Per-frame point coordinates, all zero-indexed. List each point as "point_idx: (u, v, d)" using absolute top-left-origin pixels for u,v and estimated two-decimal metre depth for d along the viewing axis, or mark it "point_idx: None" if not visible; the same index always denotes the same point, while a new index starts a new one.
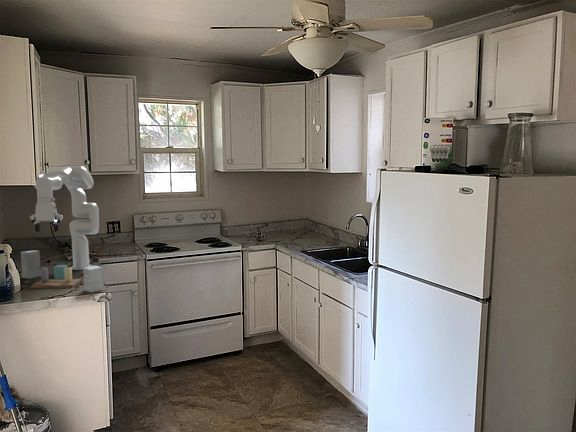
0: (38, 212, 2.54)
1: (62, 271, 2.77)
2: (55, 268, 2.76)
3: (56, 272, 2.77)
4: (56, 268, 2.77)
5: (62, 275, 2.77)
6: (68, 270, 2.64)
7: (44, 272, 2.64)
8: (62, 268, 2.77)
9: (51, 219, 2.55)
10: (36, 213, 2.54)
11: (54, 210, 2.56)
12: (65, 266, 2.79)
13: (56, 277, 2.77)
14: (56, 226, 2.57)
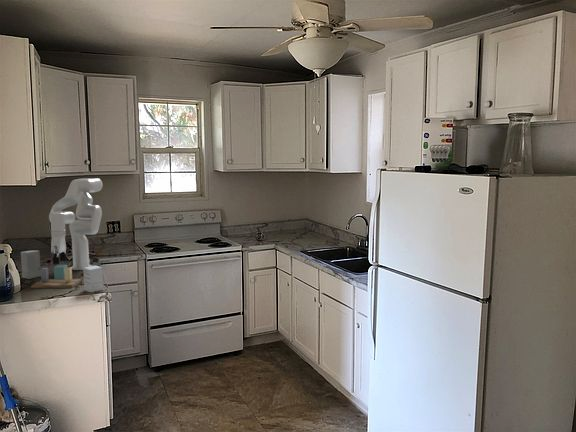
0: (60, 245, 2.74)
1: (62, 271, 2.77)
2: (55, 268, 2.76)
3: (56, 272, 2.77)
4: (56, 268, 2.77)
5: (62, 275, 2.77)
6: (68, 270, 2.64)
7: (44, 272, 2.64)
8: (62, 268, 2.77)
9: (65, 249, 2.81)
10: (59, 246, 2.73)
11: None
12: (65, 266, 2.79)
13: (56, 277, 2.77)
14: None
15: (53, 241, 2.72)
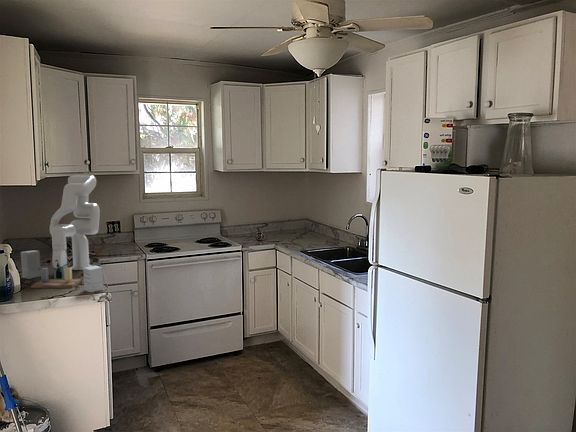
0: (62, 258, 2.76)
1: (62, 271, 2.77)
2: None
3: None
4: None
5: (62, 275, 2.77)
6: (68, 270, 2.64)
7: (44, 272, 2.64)
8: (62, 268, 2.77)
9: (66, 262, 2.83)
10: (60, 260, 2.75)
11: None
12: (65, 266, 2.79)
13: None
14: None
15: (54, 255, 2.73)
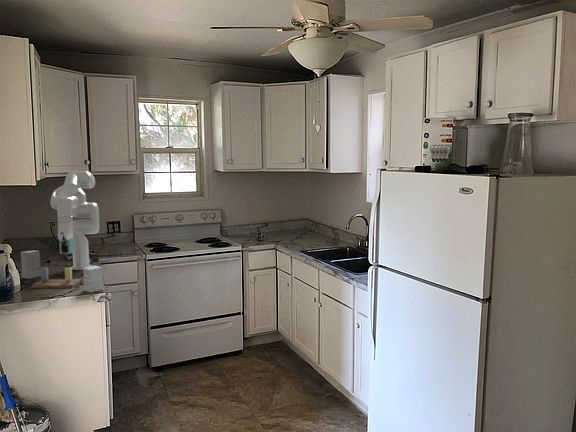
0: (68, 231, 2.60)
1: (68, 244, 2.61)
2: None
3: None
4: None
5: (68, 249, 2.61)
6: (68, 270, 2.64)
7: (44, 272, 2.64)
8: (68, 241, 2.61)
9: (72, 236, 2.67)
10: (66, 232, 2.59)
11: None
12: (71, 239, 2.64)
13: (61, 251, 2.61)
14: None
15: (60, 227, 2.58)
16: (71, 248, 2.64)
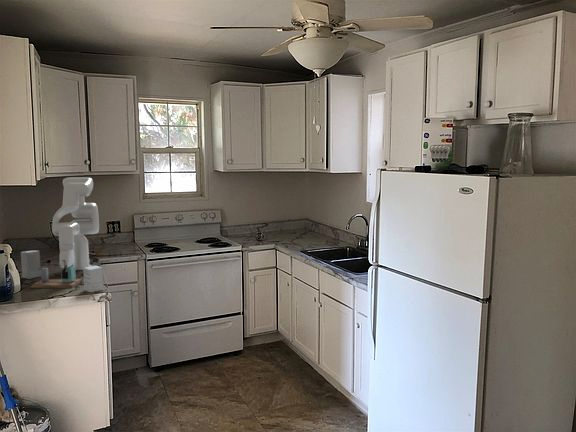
0: (69, 258, 2.62)
1: (69, 272, 2.63)
2: None
3: None
4: None
5: (69, 277, 2.64)
6: None
7: (44, 272, 2.64)
8: (69, 269, 2.63)
9: (74, 263, 2.69)
10: (68, 260, 2.61)
11: None
12: (73, 267, 2.66)
13: (63, 279, 2.64)
14: None
15: (61, 255, 2.60)
16: (73, 276, 2.66)
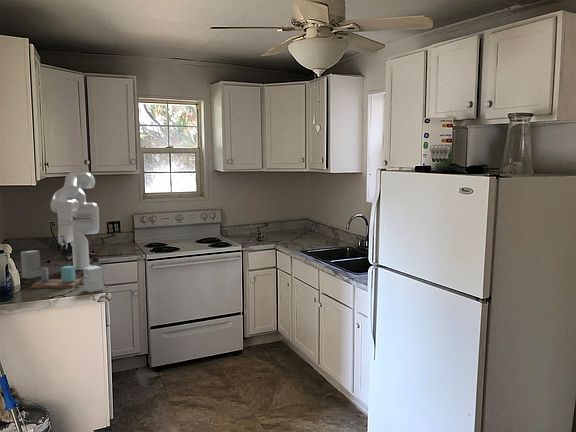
0: (68, 234, 2.60)
1: (69, 272, 2.63)
2: (62, 269, 2.63)
3: (63, 274, 2.63)
4: (63, 269, 2.63)
5: (69, 277, 2.64)
6: None
7: (44, 272, 2.64)
8: (69, 269, 2.63)
9: (72, 239, 2.67)
10: (67, 236, 2.59)
11: None
12: (73, 267, 2.66)
13: (63, 279, 2.64)
14: None
15: (60, 231, 2.58)
16: (73, 276, 2.66)
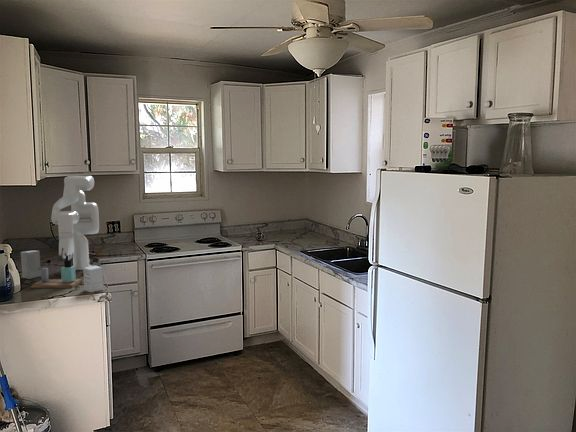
0: (68, 247, 2.61)
1: (69, 272, 2.63)
2: (62, 269, 2.63)
3: (63, 274, 2.63)
4: (63, 269, 2.63)
5: (69, 277, 2.64)
6: None
7: (44, 272, 2.64)
8: (69, 269, 2.63)
9: (73, 251, 2.68)
10: (67, 248, 2.60)
11: None
12: (73, 267, 2.66)
13: (63, 279, 2.64)
14: None
15: (61, 243, 2.59)
16: (73, 276, 2.66)
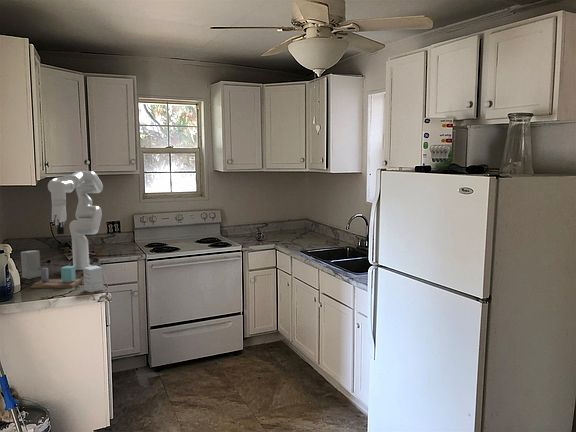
0: (61, 214, 2.71)
1: (69, 272, 2.63)
2: (62, 269, 2.63)
3: (63, 274, 2.63)
4: (63, 269, 2.63)
5: (69, 277, 2.64)
6: None
7: (44, 272, 2.64)
8: (69, 269, 2.63)
9: (66, 219, 2.78)
10: (60, 215, 2.70)
11: None
12: (73, 267, 2.66)
13: (63, 279, 2.64)
14: None
15: (54, 210, 2.68)
16: (73, 276, 2.66)
